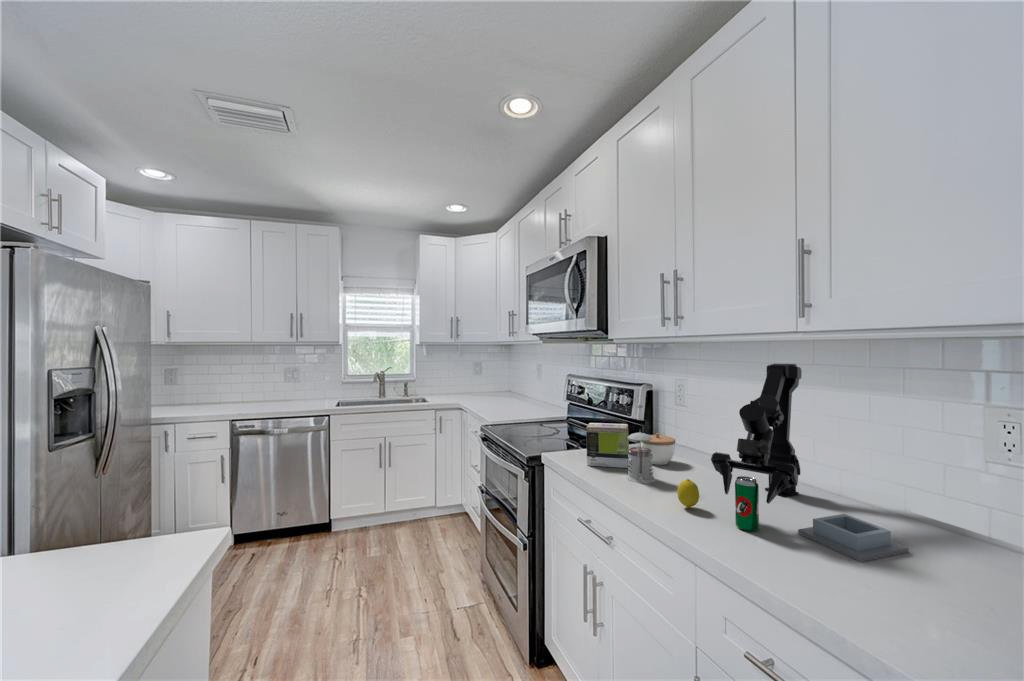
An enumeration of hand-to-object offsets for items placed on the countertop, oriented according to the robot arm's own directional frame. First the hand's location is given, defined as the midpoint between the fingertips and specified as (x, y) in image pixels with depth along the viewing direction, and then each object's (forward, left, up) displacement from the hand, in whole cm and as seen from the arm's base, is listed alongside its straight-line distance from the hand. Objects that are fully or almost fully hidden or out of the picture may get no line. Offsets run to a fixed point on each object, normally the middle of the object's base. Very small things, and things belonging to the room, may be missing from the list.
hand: (746, 498), depth 105 cm
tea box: (-61, -4, -8) cm, 62 cm away
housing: (+13, +16, -7) cm, 22 cm away
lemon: (-15, -5, -8) cm, 18 cm away
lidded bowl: (-57, +15, -8) cm, 60 cm away
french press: (-41, -3, -8) cm, 42 cm away
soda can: (0, 0, -8) cm, 8 cm away
